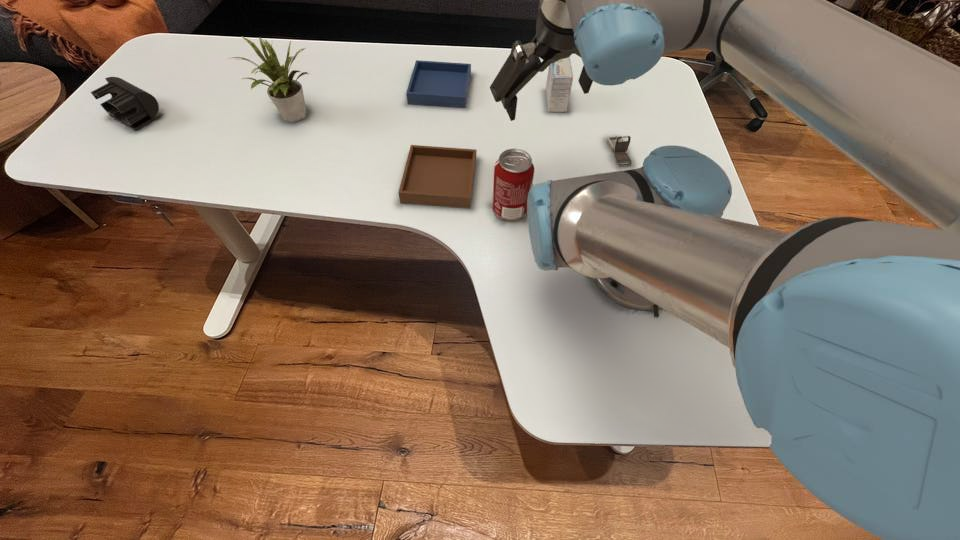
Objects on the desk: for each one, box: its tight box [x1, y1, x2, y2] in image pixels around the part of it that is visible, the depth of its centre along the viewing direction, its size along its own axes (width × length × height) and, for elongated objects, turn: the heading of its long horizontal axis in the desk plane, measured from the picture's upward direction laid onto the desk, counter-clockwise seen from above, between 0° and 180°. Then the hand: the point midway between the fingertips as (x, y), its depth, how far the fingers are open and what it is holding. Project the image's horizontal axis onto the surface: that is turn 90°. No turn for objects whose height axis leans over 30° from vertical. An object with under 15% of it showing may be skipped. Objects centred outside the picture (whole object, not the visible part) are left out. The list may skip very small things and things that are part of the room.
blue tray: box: [405, 59, 472, 109], centre depth 101 cm, size 13×13×3 cm
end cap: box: [90, 76, 160, 132], centre depth 92 cm, size 10×7×7 cm
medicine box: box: [545, 57, 574, 113], centre depth 96 cm, size 8×4×9 cm, turn 179°
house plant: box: [227, 36, 310, 123], centre depth 89 cm, size 14×14×16 cm
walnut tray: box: [397, 144, 477, 209], centre depth 84 cm, size 13×13×3 cm
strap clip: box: [606, 135, 632, 167], centre depth 89 cm, size 8×3×4 cm, turn 8°
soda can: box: [491, 148, 535, 221], centre depth 76 cm, size 7×7×12 cm
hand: (546, 100), depth 75 cm, fingers open, 13 cm apart
